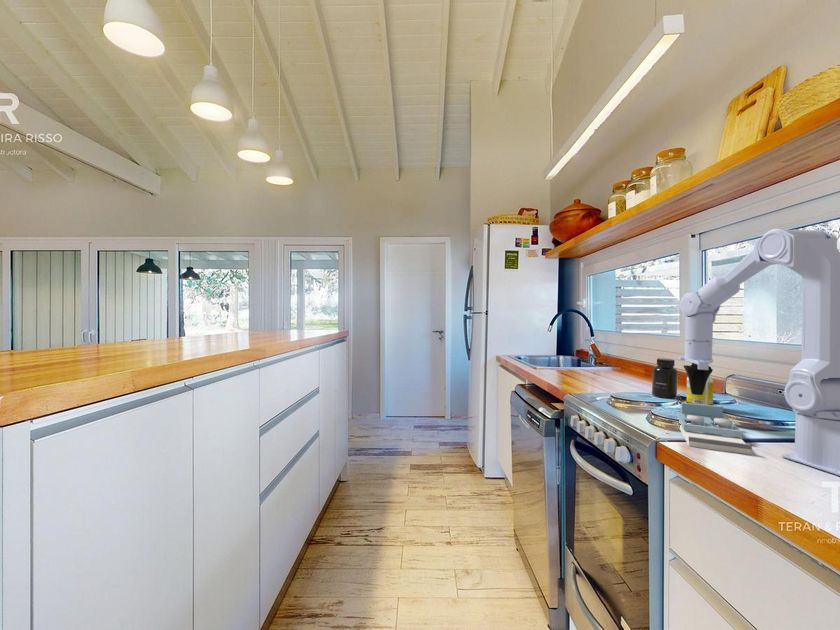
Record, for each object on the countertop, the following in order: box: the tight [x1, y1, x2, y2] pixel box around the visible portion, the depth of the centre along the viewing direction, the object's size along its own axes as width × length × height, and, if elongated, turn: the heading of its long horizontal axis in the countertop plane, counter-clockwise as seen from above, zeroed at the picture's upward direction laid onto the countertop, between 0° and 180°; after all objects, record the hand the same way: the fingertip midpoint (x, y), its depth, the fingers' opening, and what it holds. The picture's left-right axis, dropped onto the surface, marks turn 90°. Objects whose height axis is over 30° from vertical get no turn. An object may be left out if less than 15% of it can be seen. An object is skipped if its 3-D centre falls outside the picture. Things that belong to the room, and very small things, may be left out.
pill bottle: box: [686, 376, 714, 406], centre depth 111 cm, size 6×6×11 cm
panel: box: [675, 402, 742, 438], centre depth 89 cm, size 12×10×4 cm
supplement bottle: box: [651, 357, 679, 400], centre depth 124 cm, size 7×7×12 cm
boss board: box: [679, 415, 753, 456], centre depth 86 cm, size 20×10×4 cm, turn 153°
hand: (696, 394), depth 99 cm, fingers closed
